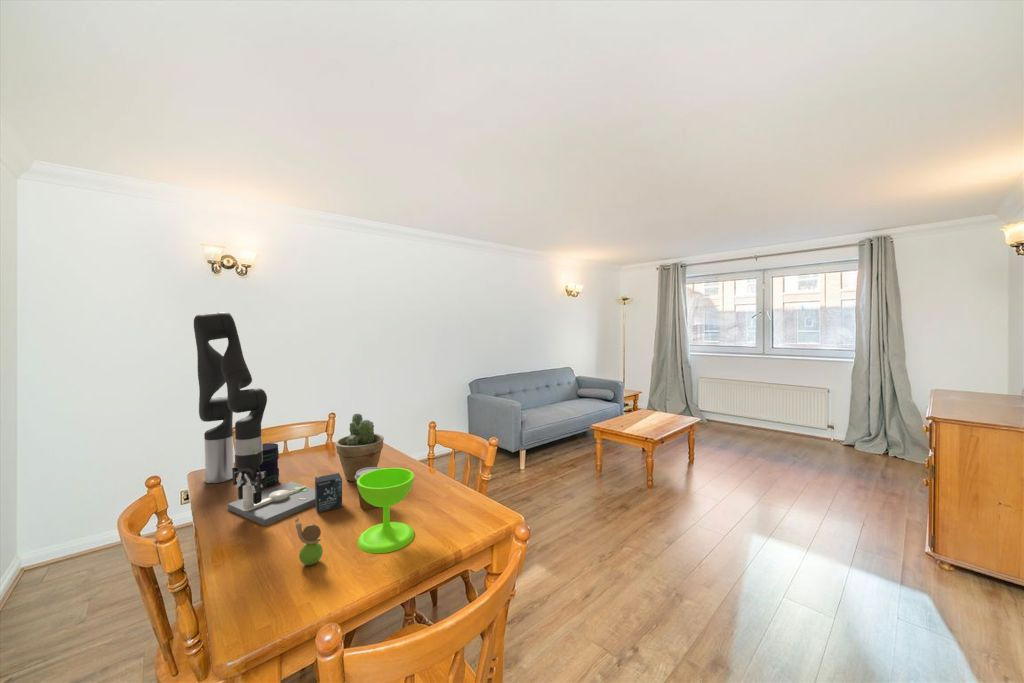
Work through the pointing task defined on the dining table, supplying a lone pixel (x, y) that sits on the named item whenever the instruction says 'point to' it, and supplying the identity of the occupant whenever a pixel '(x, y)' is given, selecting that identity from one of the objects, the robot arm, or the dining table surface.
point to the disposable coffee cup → (362, 502)
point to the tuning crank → (273, 497)
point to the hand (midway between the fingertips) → (249, 500)
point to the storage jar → (270, 464)
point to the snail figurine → (309, 543)
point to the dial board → (277, 504)
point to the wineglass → (385, 508)
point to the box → (328, 492)
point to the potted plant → (359, 447)
